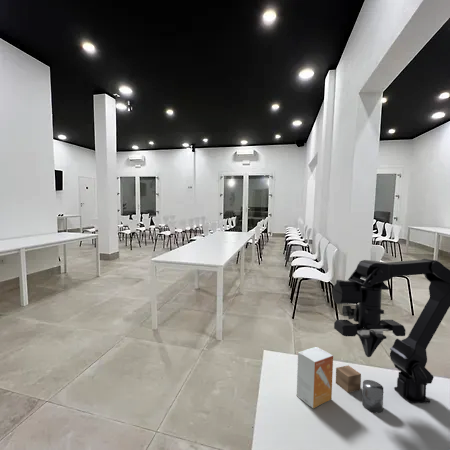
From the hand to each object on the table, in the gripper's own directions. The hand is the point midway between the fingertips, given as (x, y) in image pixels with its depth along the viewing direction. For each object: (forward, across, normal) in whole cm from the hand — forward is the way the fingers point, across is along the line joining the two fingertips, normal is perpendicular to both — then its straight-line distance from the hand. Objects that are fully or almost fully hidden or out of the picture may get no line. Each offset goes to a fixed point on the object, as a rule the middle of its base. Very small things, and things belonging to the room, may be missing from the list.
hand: (368, 356), depth 76 cm
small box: (+12, +16, 0) cm, 20 cm away
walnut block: (+12, +3, -5) cm, 13 cm away
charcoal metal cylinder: (+12, +1, +4) cm, 13 cm away
